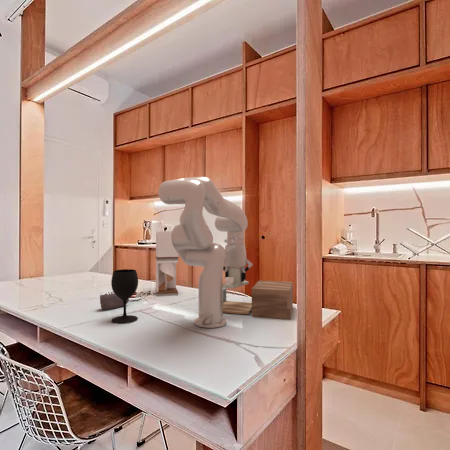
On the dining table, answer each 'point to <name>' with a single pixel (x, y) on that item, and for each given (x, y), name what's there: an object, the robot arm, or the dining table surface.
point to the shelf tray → (235, 306)
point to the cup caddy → (234, 278)
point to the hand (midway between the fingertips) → (235, 280)
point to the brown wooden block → (272, 299)
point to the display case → (165, 264)
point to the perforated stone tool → (110, 301)
